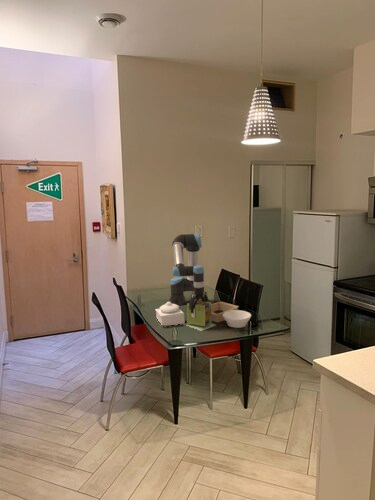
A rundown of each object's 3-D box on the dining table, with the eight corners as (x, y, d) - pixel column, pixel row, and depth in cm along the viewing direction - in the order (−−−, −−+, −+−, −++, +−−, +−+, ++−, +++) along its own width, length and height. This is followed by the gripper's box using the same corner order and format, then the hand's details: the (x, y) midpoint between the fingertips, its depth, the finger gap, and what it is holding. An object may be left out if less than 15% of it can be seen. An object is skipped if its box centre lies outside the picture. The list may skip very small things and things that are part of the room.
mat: (183, 324, 281) (183, 324, 281) (198, 319, 291) (198, 318, 291) (200, 331, 267) (200, 330, 267) (216, 325, 278) (216, 324, 278)
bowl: (231, 318, 292) (231, 308, 291) (256, 323, 280) (256, 313, 279) (217, 326, 275) (217, 316, 274) (243, 332, 263) (243, 321, 262)
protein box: (205, 326, 271) (205, 306, 268) (187, 323, 278) (186, 303, 276) (211, 322, 280) (211, 302, 277) (193, 318, 287) (193, 299, 285)
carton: (196, 317, 297) (196, 309, 296) (220, 308, 316) (220, 301, 315) (215, 323, 282) (215, 315, 281) (239, 314, 301) (239, 306, 300)
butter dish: (184, 323, 281) (183, 303, 279) (161, 327, 276) (160, 307, 273) (177, 316, 298) (176, 297, 295) (155, 320, 292) (154, 300, 290)
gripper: (190, 290, 264) (191, 320, 267) (213, 284, 280) (214, 312, 283) (183, 289, 269) (183, 317, 273) (206, 282, 285) (207, 310, 289)
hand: (199, 315), depth 278 cm, fingers closed on protein box, 12 cm apart
